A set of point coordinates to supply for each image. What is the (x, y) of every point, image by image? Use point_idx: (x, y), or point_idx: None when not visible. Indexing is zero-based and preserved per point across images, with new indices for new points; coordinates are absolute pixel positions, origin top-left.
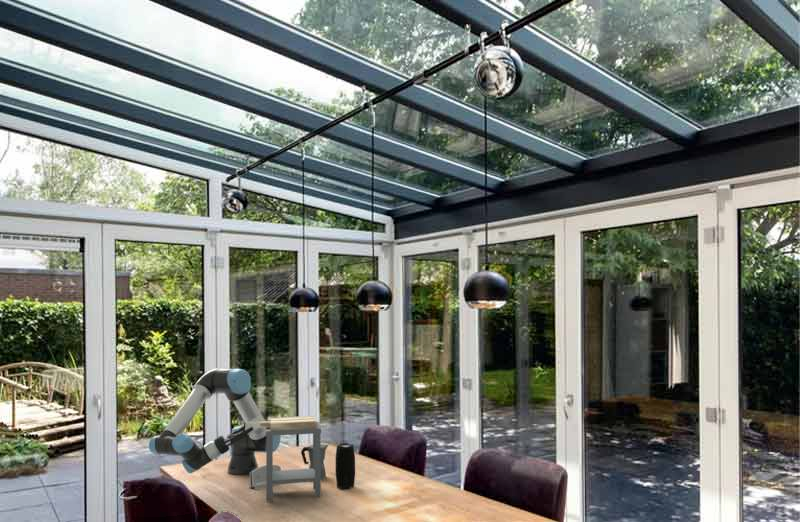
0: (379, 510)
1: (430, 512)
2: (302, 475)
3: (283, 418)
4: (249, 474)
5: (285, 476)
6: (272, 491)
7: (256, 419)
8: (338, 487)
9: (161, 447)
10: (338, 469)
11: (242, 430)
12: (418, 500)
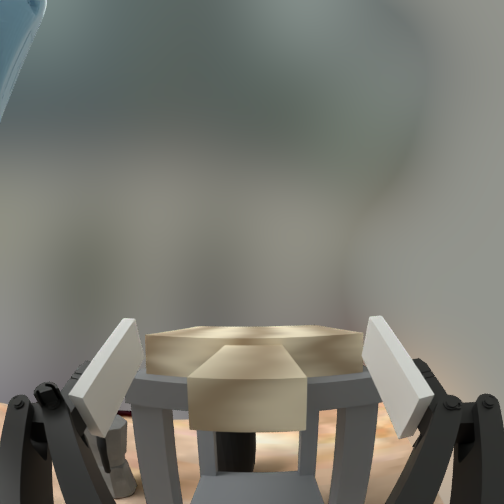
0: (384, 440)
1: (382, 414)
2: (281, 495)
3: (204, 332)
4: None
5: None
6: None
7: (126, 346)
8: None
9: None
10: (244, 447)
11: (99, 478)
12: (333, 423)
